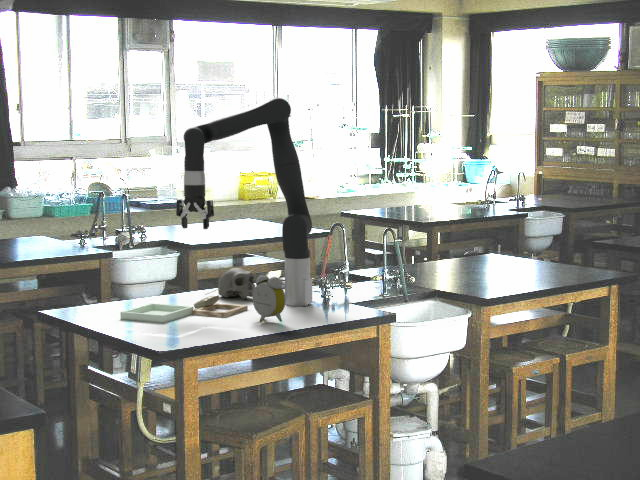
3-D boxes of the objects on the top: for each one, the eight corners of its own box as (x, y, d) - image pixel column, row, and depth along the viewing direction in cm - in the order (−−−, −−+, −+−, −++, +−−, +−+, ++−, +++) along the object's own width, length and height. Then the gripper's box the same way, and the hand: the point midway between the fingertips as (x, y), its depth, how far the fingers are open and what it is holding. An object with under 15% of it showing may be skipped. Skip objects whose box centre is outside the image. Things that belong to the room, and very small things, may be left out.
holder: (247, 309, 368) (247, 305, 368) (225, 317, 354) (225, 312, 353) (215, 307, 373) (215, 303, 373) (192, 314, 359) (192, 310, 359)
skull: (241, 303, 383) (241, 271, 382) (211, 297, 396) (211, 267, 395) (265, 299, 391) (265, 268, 390) (235, 294, 404) (234, 264, 403)
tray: (193, 313, 360) (193, 306, 360) (163, 323, 343) (163, 315, 343) (151, 310, 367) (151, 303, 367) (120, 319, 350) (120, 311, 350)
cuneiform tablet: (206, 293, 361) (189, 299, 370) (211, 305, 361) (194, 311, 370) (222, 287, 365) (205, 292, 374) (227, 299, 365) (209, 304, 374)
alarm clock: (286, 321, 345) (286, 277, 344) (271, 324, 341) (270, 279, 339) (263, 317, 354) (263, 273, 352) (248, 319, 349) (247, 275, 347)
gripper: (217, 183, 372) (217, 228, 374) (183, 182, 378) (183, 227, 380) (206, 184, 365) (207, 230, 367) (171, 183, 371) (172, 228, 373)
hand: (195, 228), depth 374 cm, fingers open, 8 cm apart
